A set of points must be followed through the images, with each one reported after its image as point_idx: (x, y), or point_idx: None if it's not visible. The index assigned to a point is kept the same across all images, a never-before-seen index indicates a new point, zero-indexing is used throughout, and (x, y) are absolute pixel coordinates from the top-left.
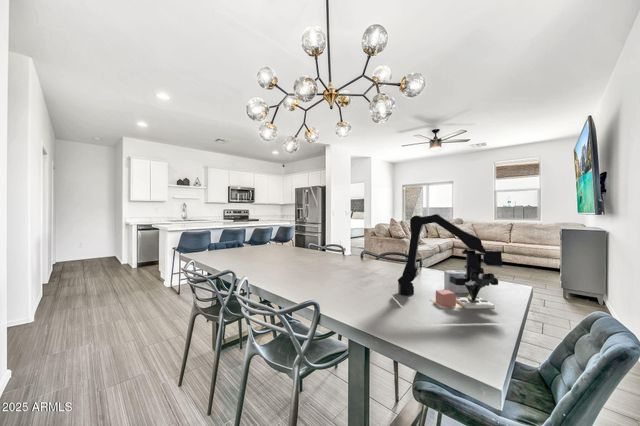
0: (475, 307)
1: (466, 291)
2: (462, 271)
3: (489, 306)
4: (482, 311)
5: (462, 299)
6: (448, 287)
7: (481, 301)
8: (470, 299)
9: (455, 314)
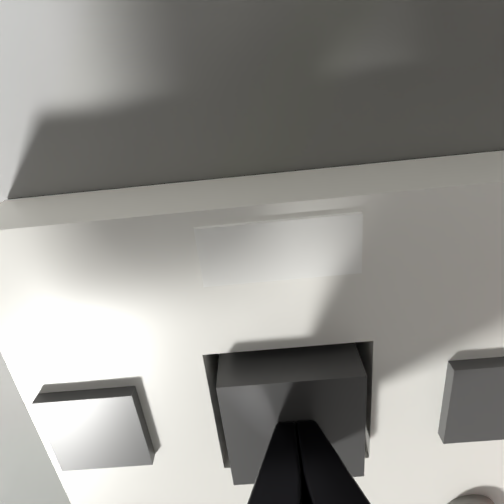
0: (389, 176)
1: None
2: None
3: (76, 213)
4: (274, 100)
5: (441, 467)
6: None
7: (146, 406)
8: (351, 440)
9: None
